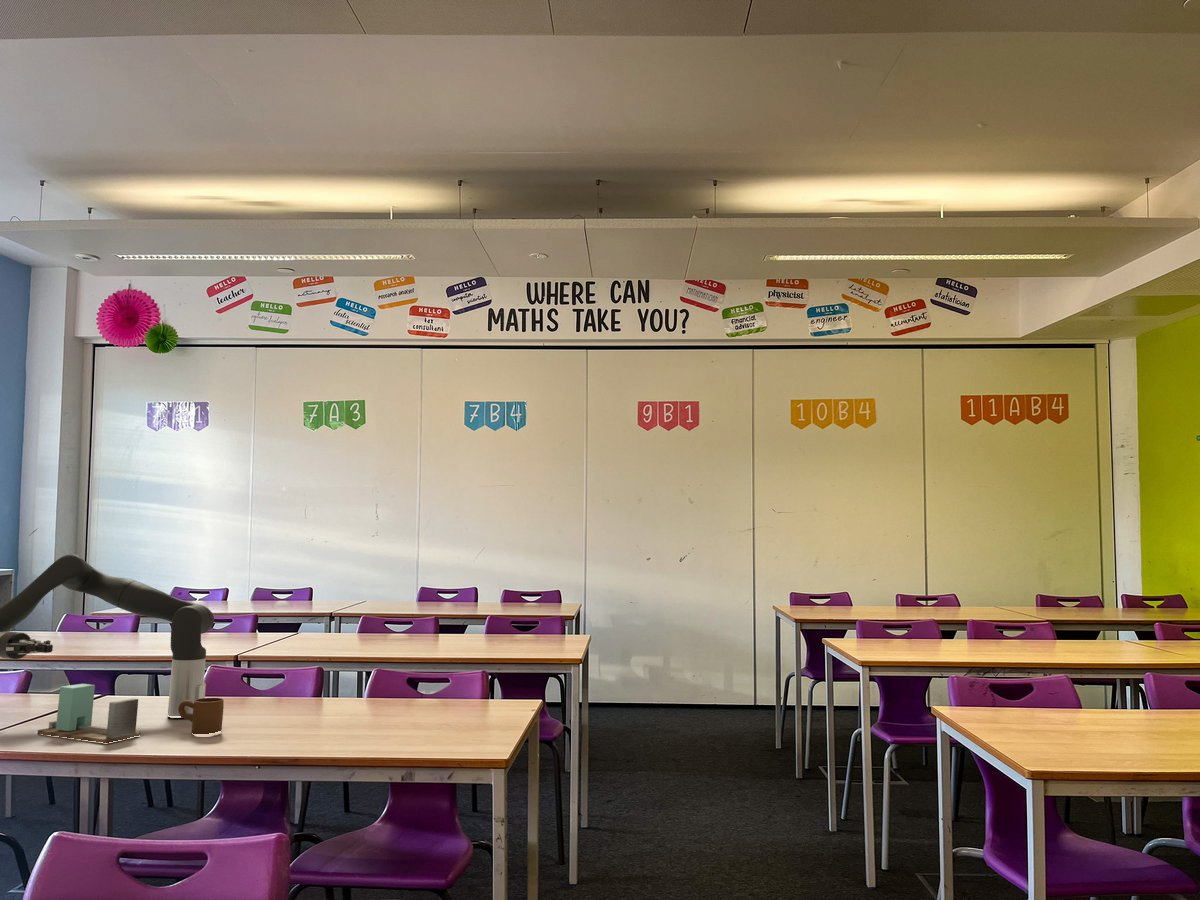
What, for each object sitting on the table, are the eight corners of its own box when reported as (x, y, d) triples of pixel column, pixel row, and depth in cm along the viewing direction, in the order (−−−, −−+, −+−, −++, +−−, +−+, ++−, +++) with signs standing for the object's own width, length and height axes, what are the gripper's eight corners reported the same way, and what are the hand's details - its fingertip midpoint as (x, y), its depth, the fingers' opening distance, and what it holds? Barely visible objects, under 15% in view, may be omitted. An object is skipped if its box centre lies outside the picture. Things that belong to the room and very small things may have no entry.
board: (37, 734, 223) (37, 730, 224) (72, 727, 233) (72, 723, 233) (106, 744, 214) (106, 739, 214) (139, 737, 223) (140, 732, 223)
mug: (169, 737, 224) (172, 701, 225) (183, 731, 231) (186, 696, 232) (213, 738, 224) (216, 702, 225) (226, 732, 231) (228, 697, 232)
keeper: (55, 729, 224) (60, 686, 225) (78, 725, 230) (82, 683, 231) (68, 731, 222) (73, 688, 223) (91, 726, 228) (95, 685, 229)
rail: (43, 729, 225) (46, 695, 226) (67, 724, 231) (71, 691, 233) (111, 738, 215) (115, 703, 217) (135, 733, 222) (138, 699, 223)
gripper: (-14, 633, 233) (27, 637, 227) (32, 630, 246) (73, 633, 239) (-18, 660, 232) (24, 665, 226) (30, 655, 245) (71, 659, 238)
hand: (49, 648), depth 233 cm, fingers closed
